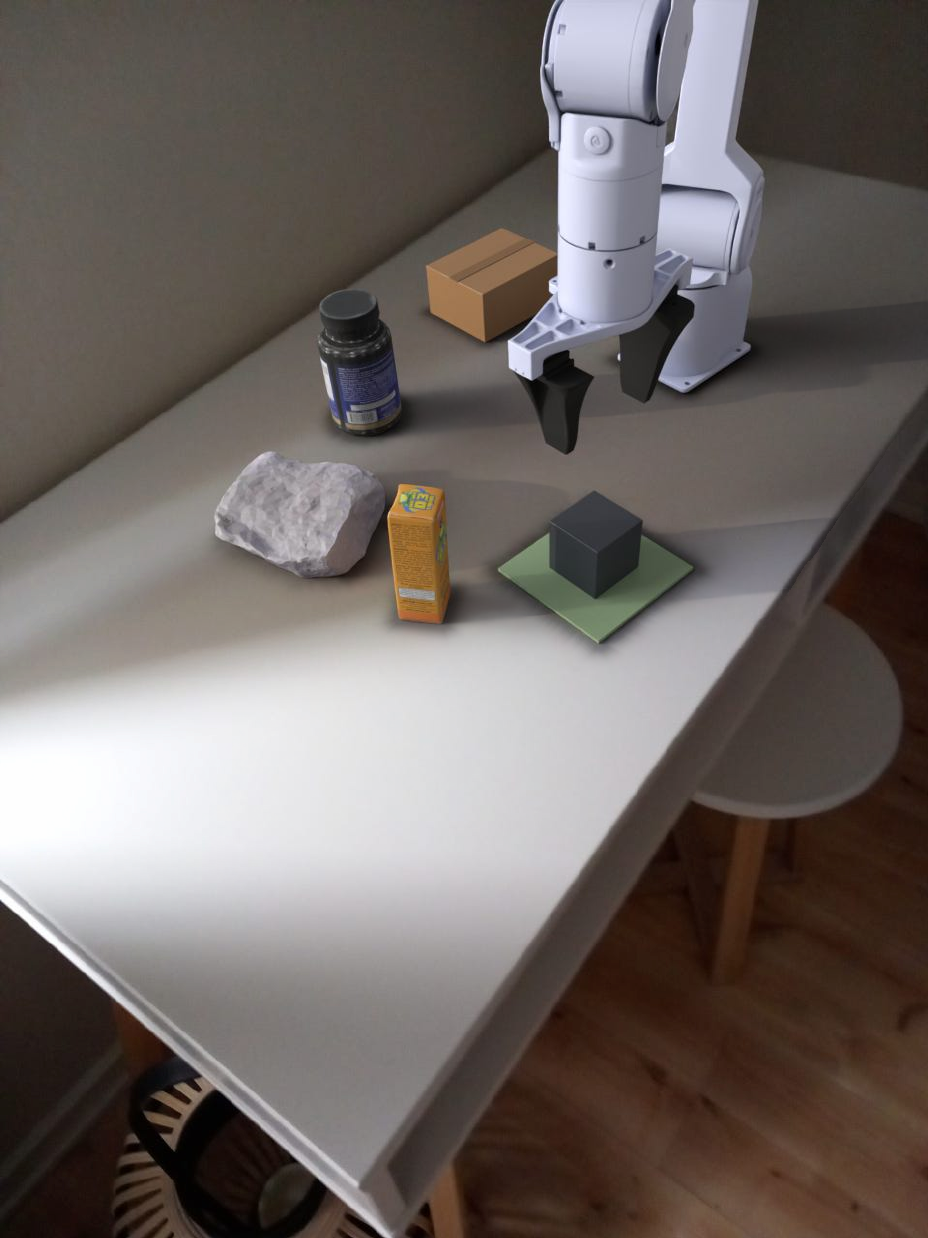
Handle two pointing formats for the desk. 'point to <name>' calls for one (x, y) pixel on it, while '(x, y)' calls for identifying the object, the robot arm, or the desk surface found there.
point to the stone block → (302, 513)
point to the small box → (594, 543)
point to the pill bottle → (358, 363)
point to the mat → (611, 606)
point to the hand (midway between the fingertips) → (598, 420)
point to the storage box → (491, 283)
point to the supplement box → (420, 553)
